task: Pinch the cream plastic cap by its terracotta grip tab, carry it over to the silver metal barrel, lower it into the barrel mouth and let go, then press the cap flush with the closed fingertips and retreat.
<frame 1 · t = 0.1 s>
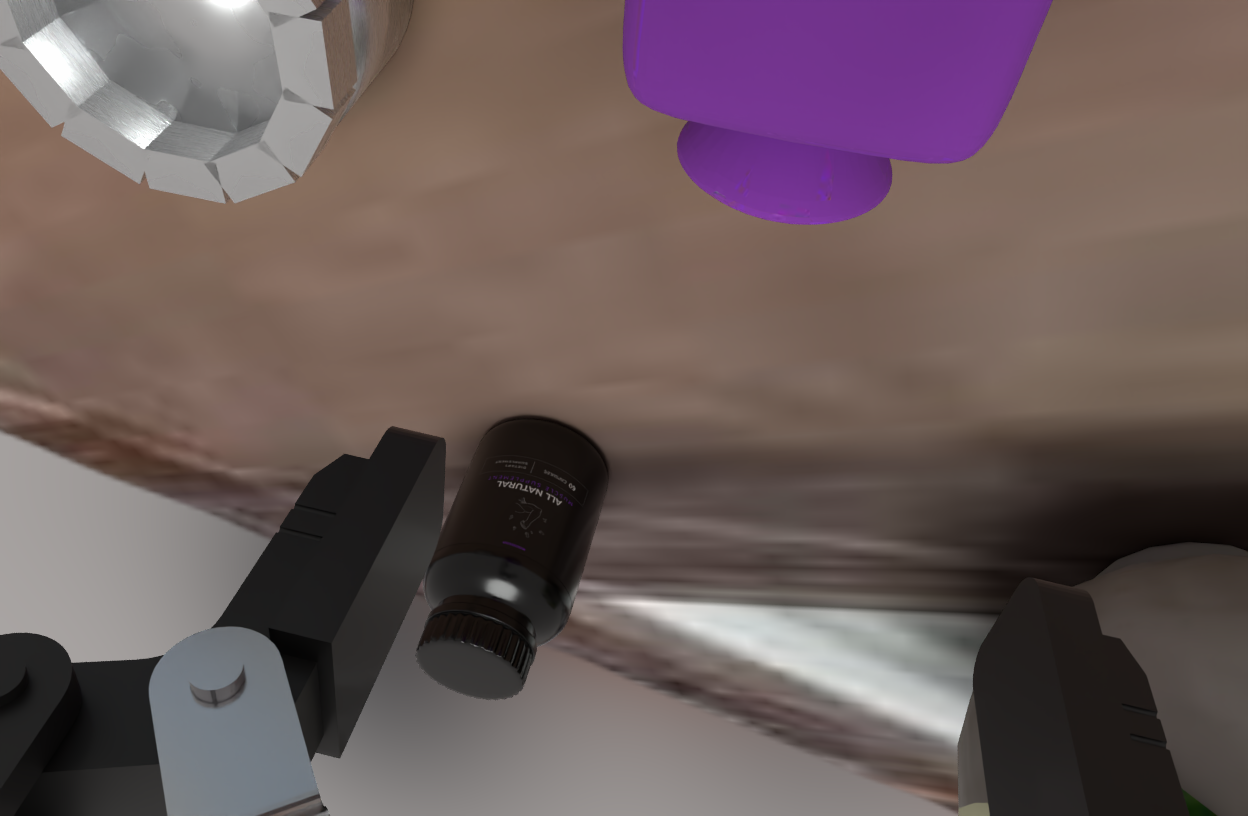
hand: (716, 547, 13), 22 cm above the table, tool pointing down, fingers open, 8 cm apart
flower arrangement: (1178, 589, 46), on the table
supplement bottle: (544, 457, 48), on the table
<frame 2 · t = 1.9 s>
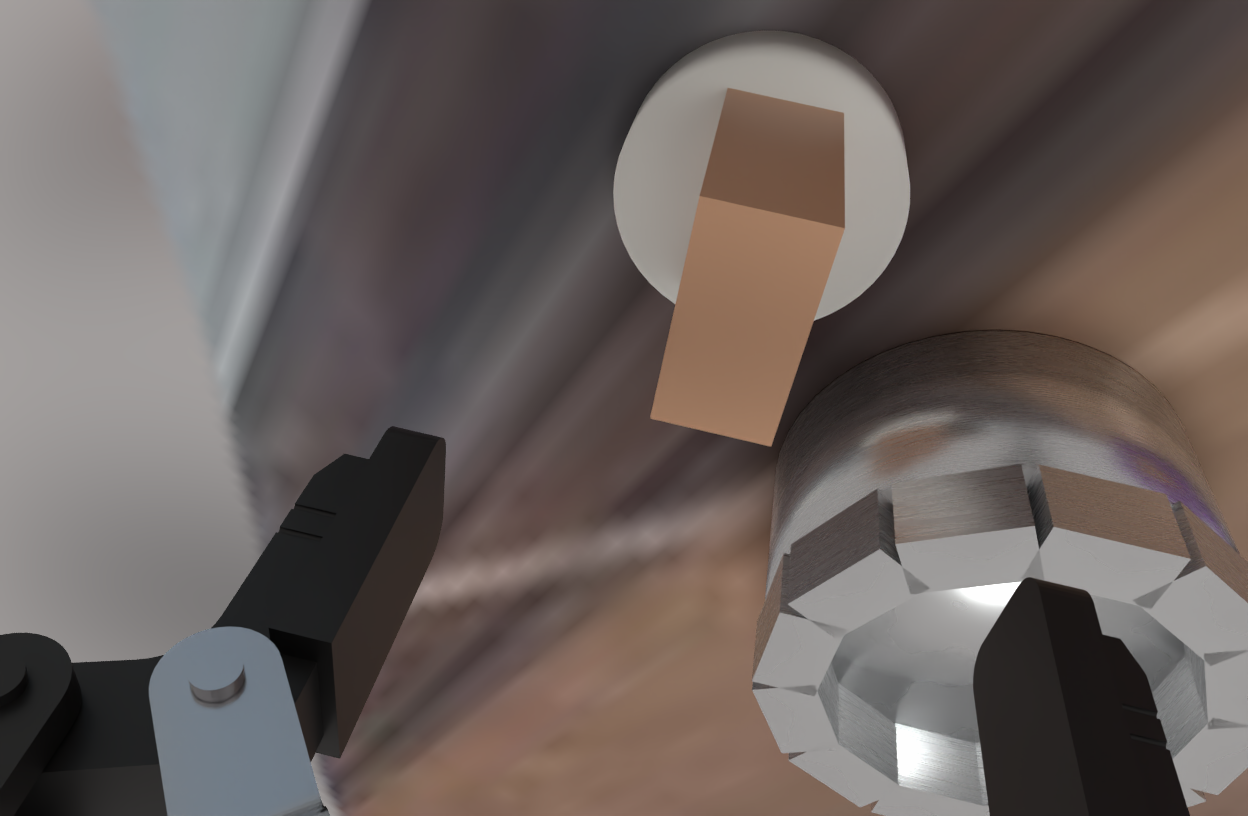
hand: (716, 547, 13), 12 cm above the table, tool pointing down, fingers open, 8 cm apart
cap: (762, 171, 22), on the table
barrel: (971, 494, 27), on the table
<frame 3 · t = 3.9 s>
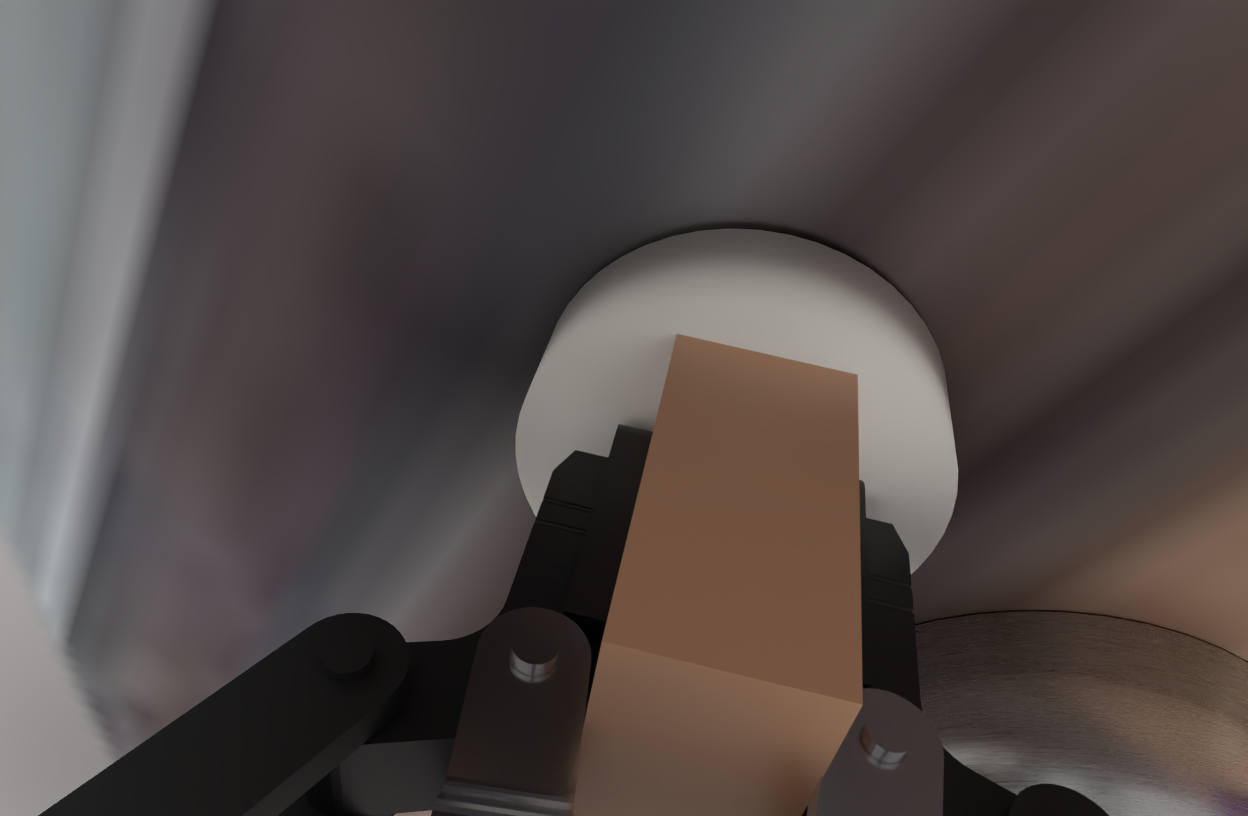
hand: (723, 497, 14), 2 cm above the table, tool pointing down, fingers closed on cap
cap: (738, 407, 15), on the table, touching gripper
barrel: (1021, 787, 20), on the table
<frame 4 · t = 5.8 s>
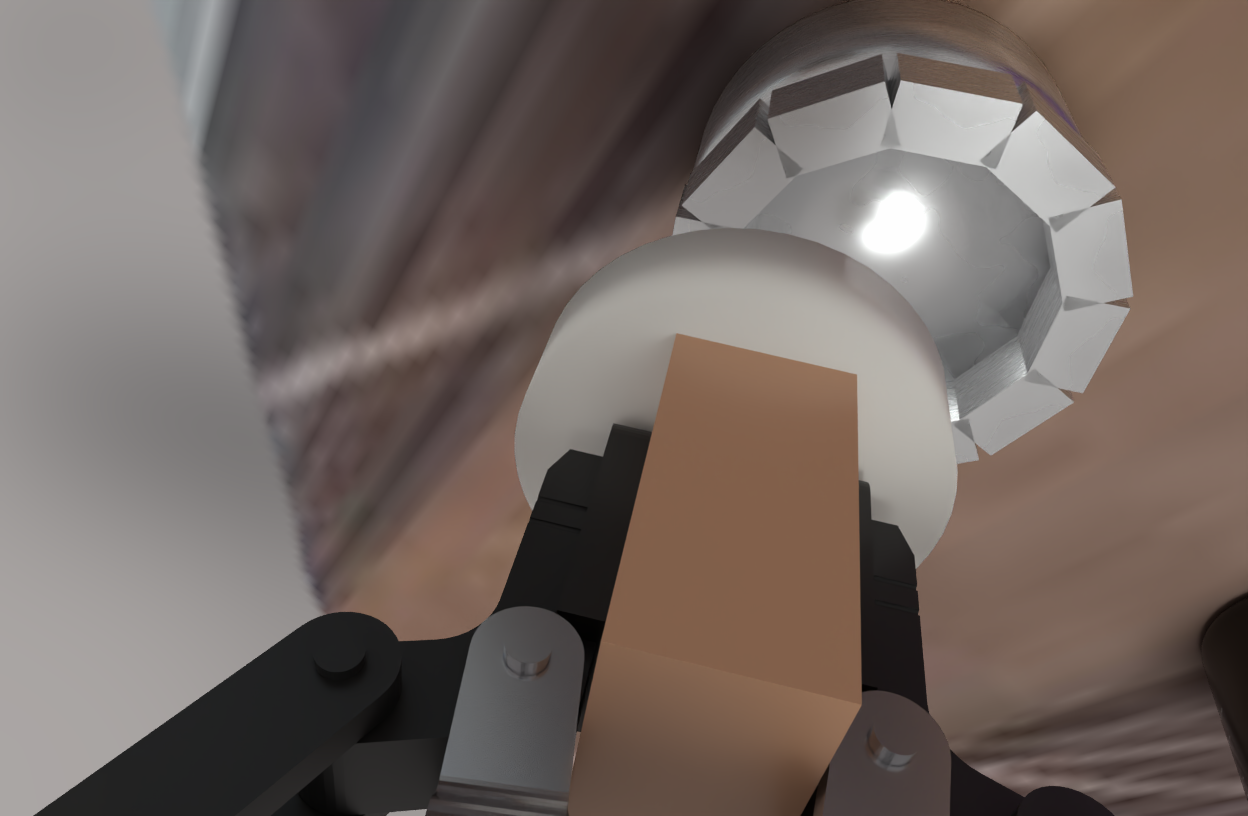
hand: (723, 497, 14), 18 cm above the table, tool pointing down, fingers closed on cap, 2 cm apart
cap: (737, 407, 15), point 16 cm above the table, touching gripper
barrel: (876, 184, 29), on the table
when the fingers open (9 cm above the table, at t = 8.0 s): cap drops 1 cm, resting on barrel.
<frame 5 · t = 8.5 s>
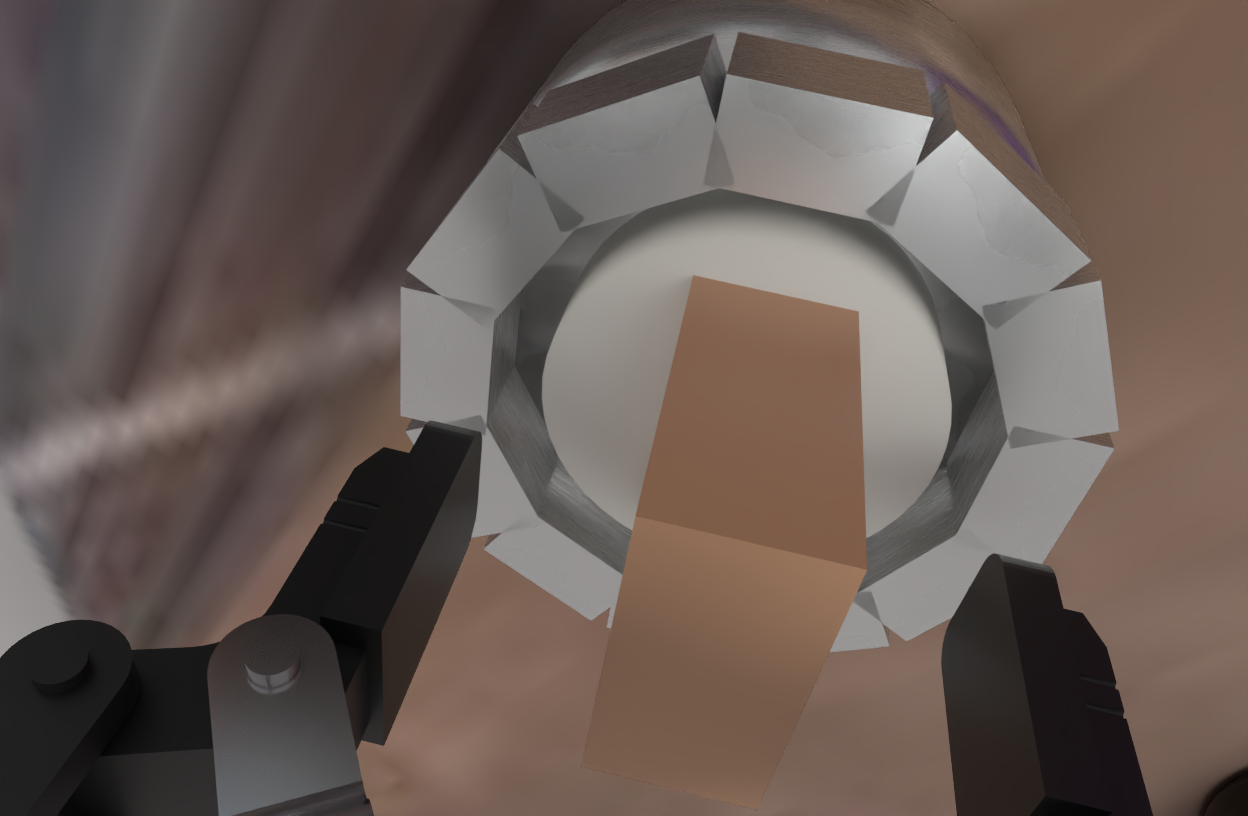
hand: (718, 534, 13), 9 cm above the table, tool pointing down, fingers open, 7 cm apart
cap: (747, 357, 16), point 5 cm above the table, touching barrel
barrel: (760, 231, 21), on the table
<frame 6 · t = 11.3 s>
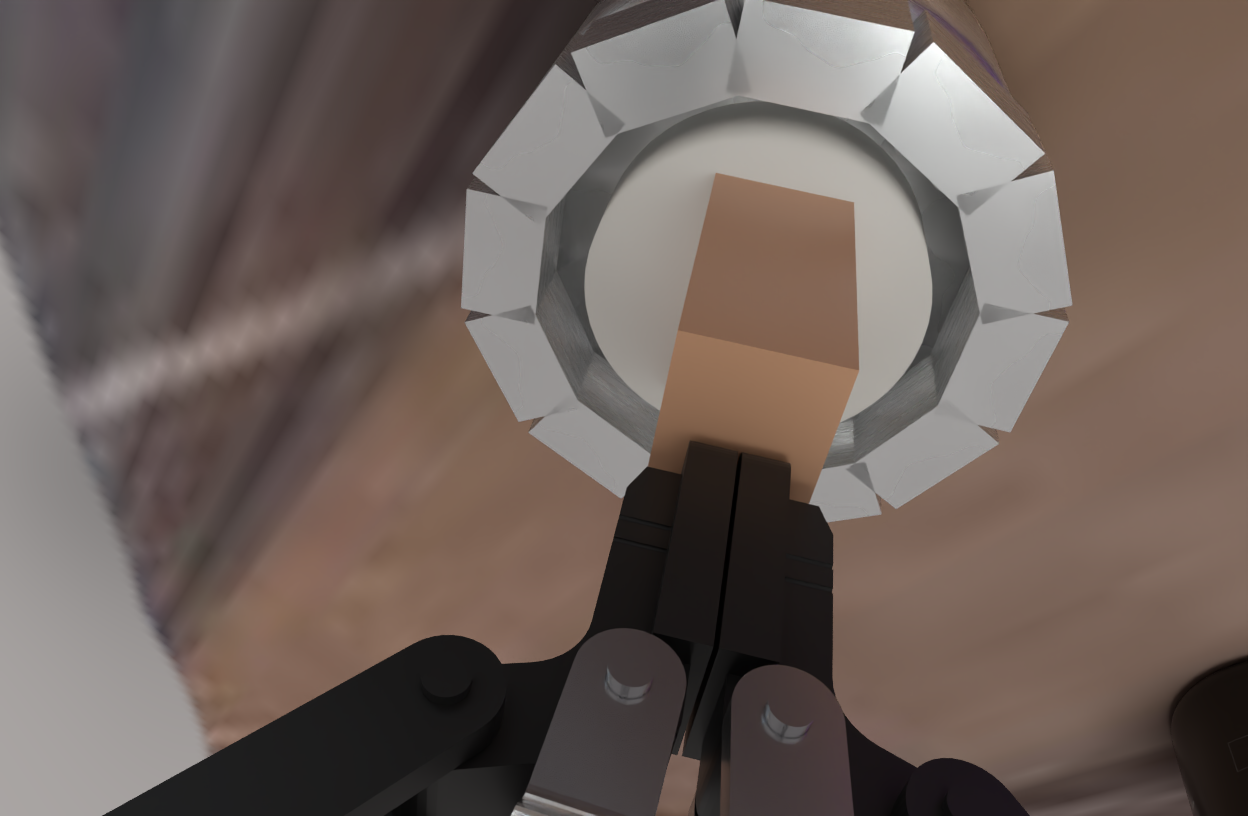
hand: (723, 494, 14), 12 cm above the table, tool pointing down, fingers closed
cap: (758, 258, 19), point 5 cm above the table, touching barrel, gripper
barrel: (768, 163, 23), on the table
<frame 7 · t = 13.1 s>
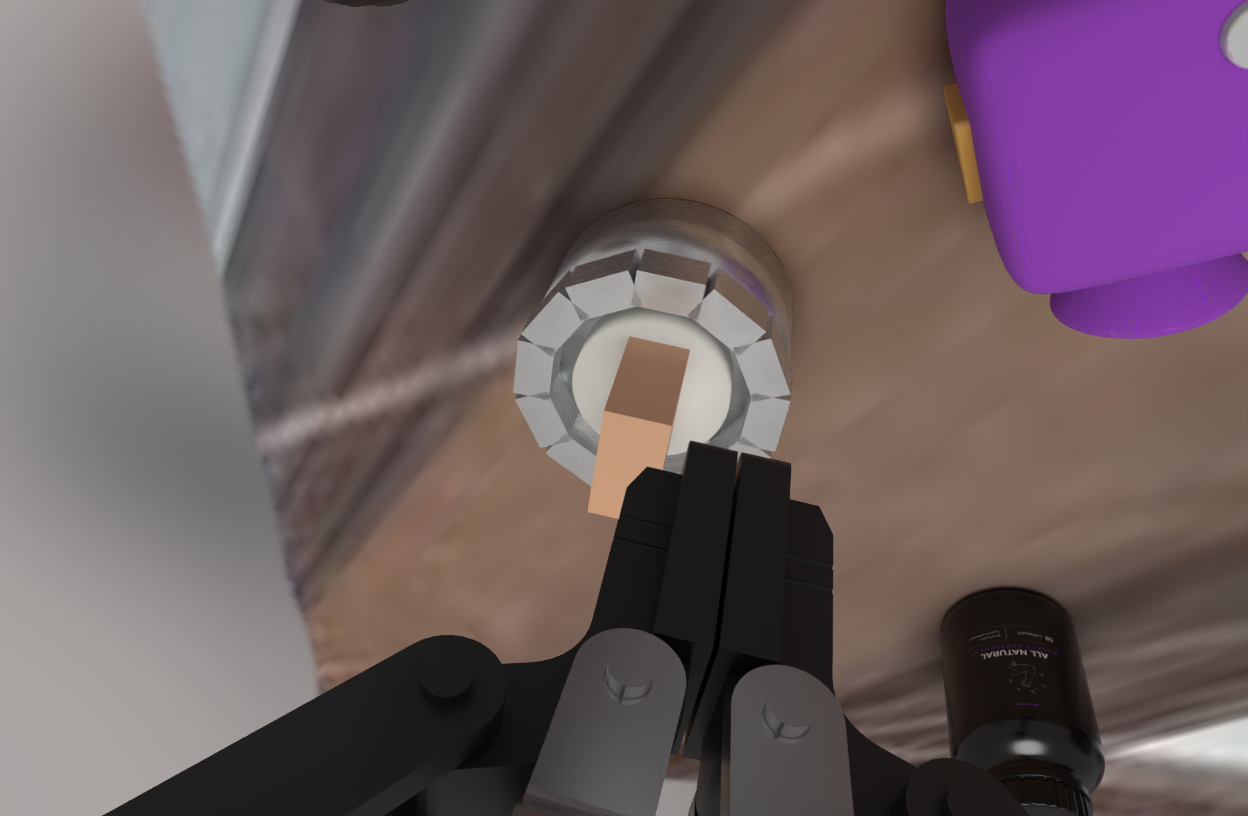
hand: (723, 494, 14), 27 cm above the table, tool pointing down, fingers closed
cap: (656, 368, 40), point 5 cm above the table, touching barrel
barrel: (672, 311, 44), on the table
toy camera: (1100, 91, 36), on the table
supplement bottle: (1003, 626, 52), on the table
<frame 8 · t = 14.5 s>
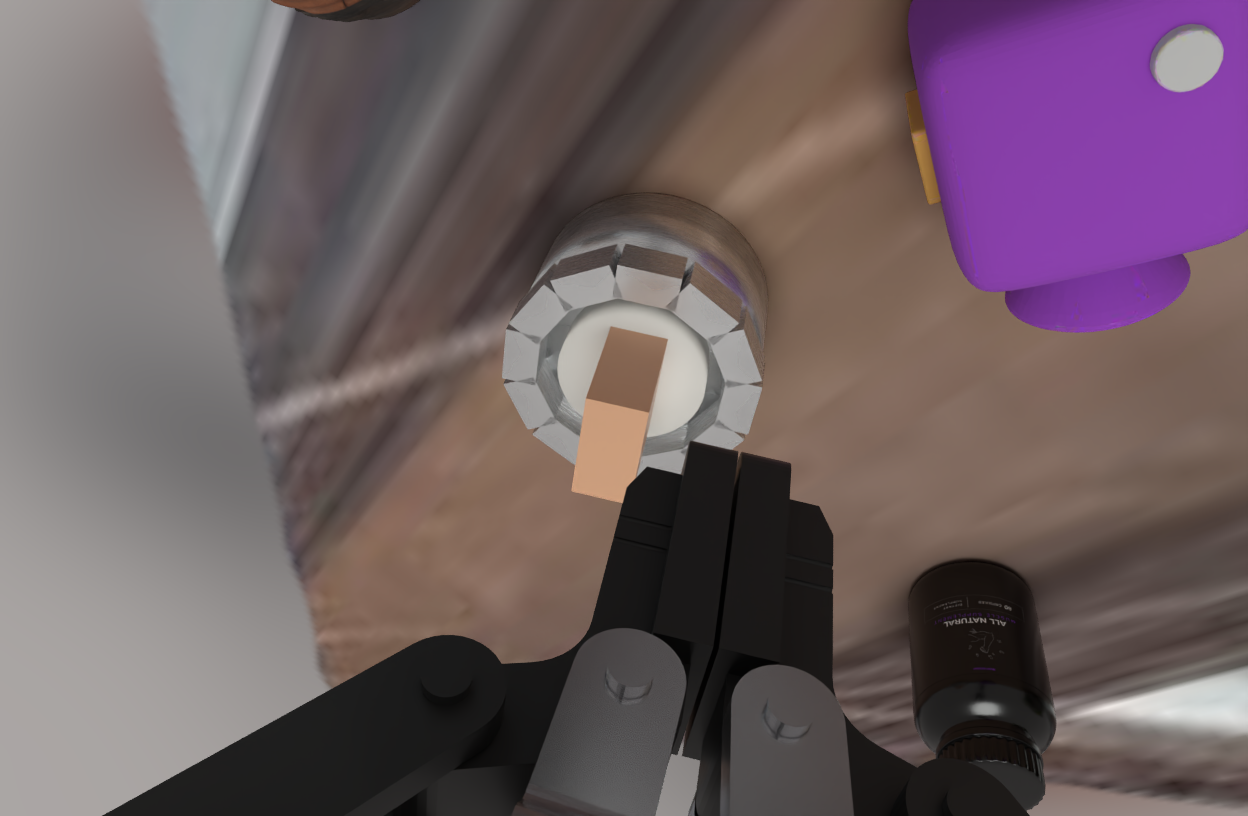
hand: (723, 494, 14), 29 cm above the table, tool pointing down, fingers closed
cap: (637, 355, 42), point 5 cm above the table, touching barrel
barrel: (653, 298, 46), on the table
toy camera: (1055, 96, 38), on the table
supplement bottle: (967, 596, 55), on the table
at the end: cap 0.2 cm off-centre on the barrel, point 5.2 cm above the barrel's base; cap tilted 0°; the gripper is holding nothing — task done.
